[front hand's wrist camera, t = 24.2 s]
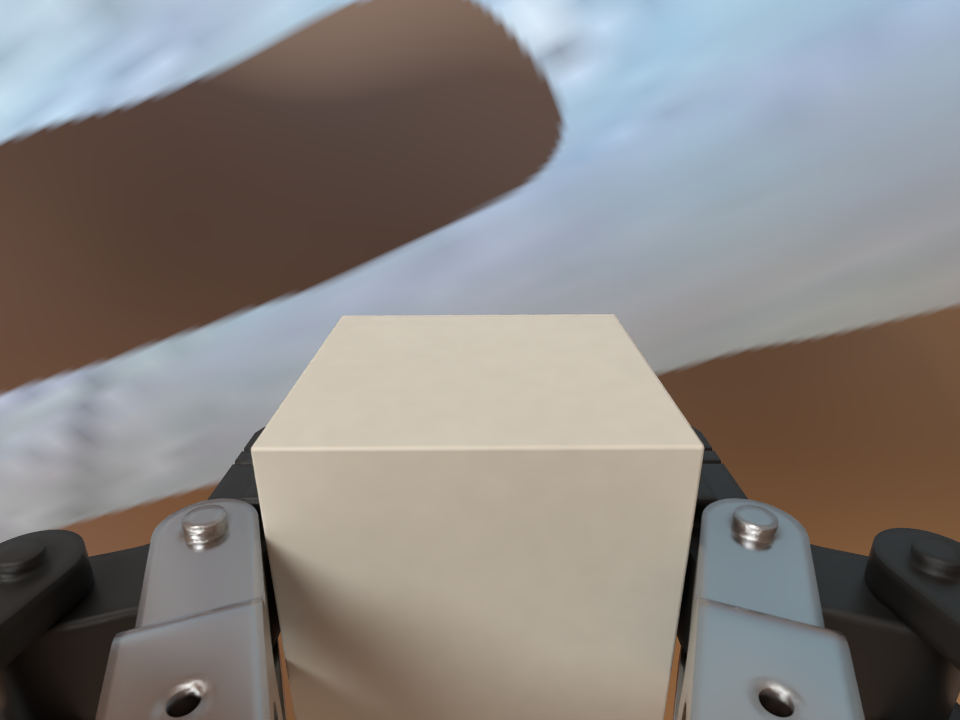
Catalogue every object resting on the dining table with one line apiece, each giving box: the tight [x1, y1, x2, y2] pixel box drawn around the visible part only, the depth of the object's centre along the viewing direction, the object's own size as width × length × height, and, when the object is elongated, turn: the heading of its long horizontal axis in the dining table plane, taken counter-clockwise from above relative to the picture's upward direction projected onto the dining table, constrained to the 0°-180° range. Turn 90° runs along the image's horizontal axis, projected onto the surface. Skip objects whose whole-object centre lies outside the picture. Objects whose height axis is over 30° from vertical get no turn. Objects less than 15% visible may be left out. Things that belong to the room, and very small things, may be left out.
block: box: [251, 314, 704, 720], centre depth 10 cm, size 5×5×5 cm
